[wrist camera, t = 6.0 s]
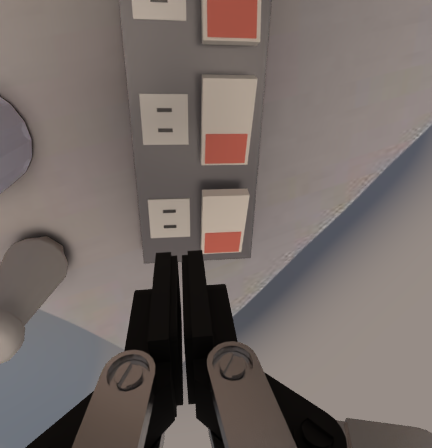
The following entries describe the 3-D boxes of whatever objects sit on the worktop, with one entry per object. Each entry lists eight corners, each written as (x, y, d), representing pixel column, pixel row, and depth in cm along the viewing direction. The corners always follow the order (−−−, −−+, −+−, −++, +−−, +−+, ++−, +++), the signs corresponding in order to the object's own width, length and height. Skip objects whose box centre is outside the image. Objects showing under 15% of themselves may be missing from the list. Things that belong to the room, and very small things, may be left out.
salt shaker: (7, 263, 34) (-76, 366, 23) (24, 219, 32) (-58, 308, 21) (62, 282, 36) (12, 387, 25) (82, 242, 34) (37, 335, 23)
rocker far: (201, 189, 28) (202, 197, 27) (247, 188, 28) (249, 196, 28) (200, 246, 33) (201, 254, 32) (239, 244, 33) (241, 252, 32)
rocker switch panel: (115, -95, 23) (105, -121, 19) (267, -83, 24) (283, -105, 21) (145, 248, 35) (143, 267, 32) (244, 243, 37) (252, 261, 33)
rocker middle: (201, 74, 24) (203, 78, 23) (254, 75, 24) (257, 79, 24) (200, 159, 28) (201, 166, 27) (245, 159, 29) (247, 165, 28)
